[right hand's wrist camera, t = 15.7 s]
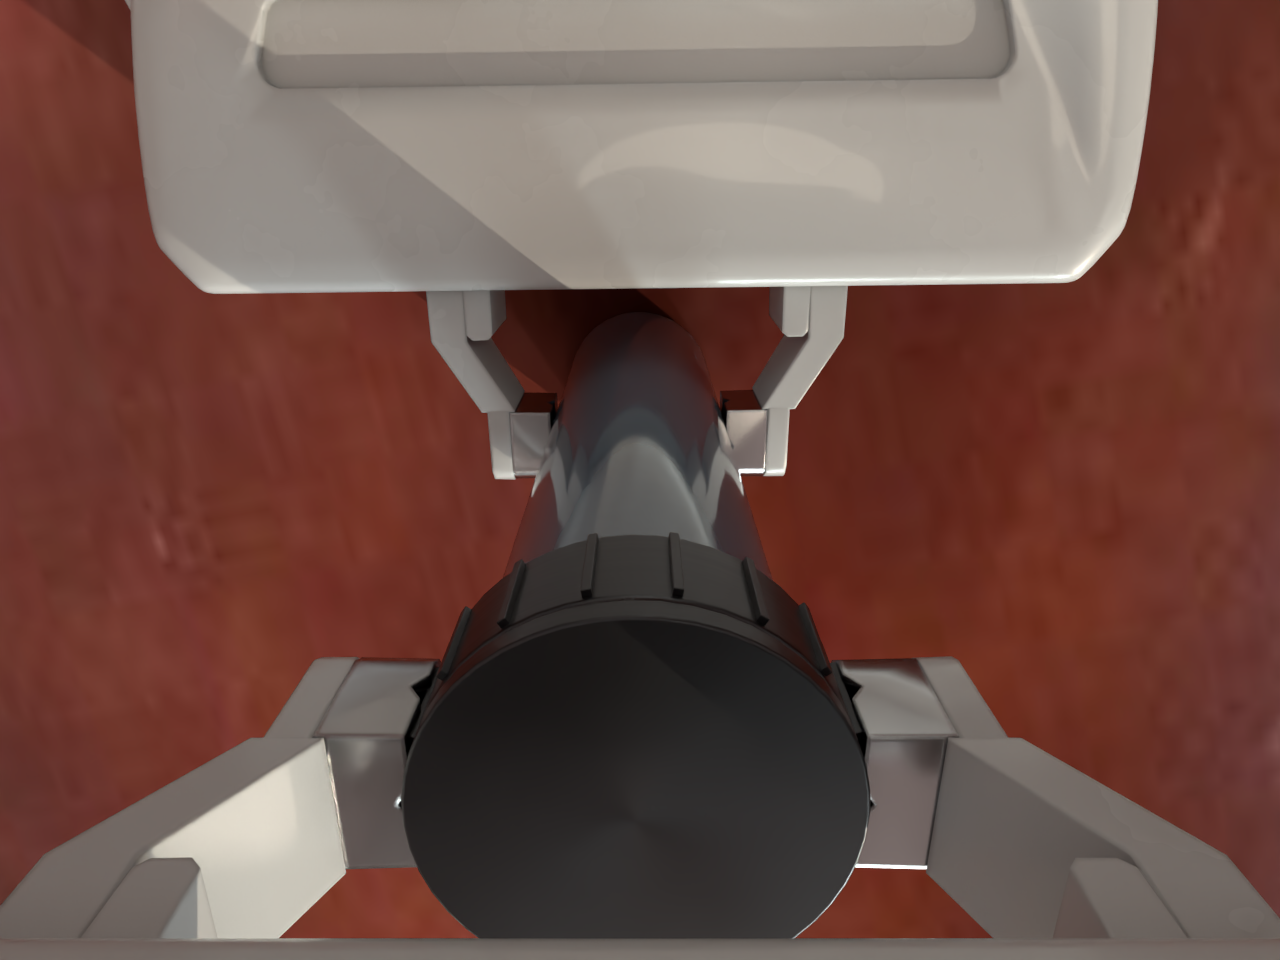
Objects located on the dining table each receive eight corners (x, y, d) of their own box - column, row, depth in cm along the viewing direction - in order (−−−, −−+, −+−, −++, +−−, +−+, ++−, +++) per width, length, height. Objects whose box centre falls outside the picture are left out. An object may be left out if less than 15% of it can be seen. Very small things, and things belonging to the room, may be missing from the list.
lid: (788, 475, 9) (822, 551, 8) (873, 814, 11) (917, 940, 9) (373, 589, 10) (314, 684, 8) (516, 896, 12) (494, 1029, 10)
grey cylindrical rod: (686, 294, 25) (779, 579, 8) (722, 423, 26) (862, 888, 10) (552, 334, 25) (383, 681, 9) (595, 459, 27) (520, 962, 10)
